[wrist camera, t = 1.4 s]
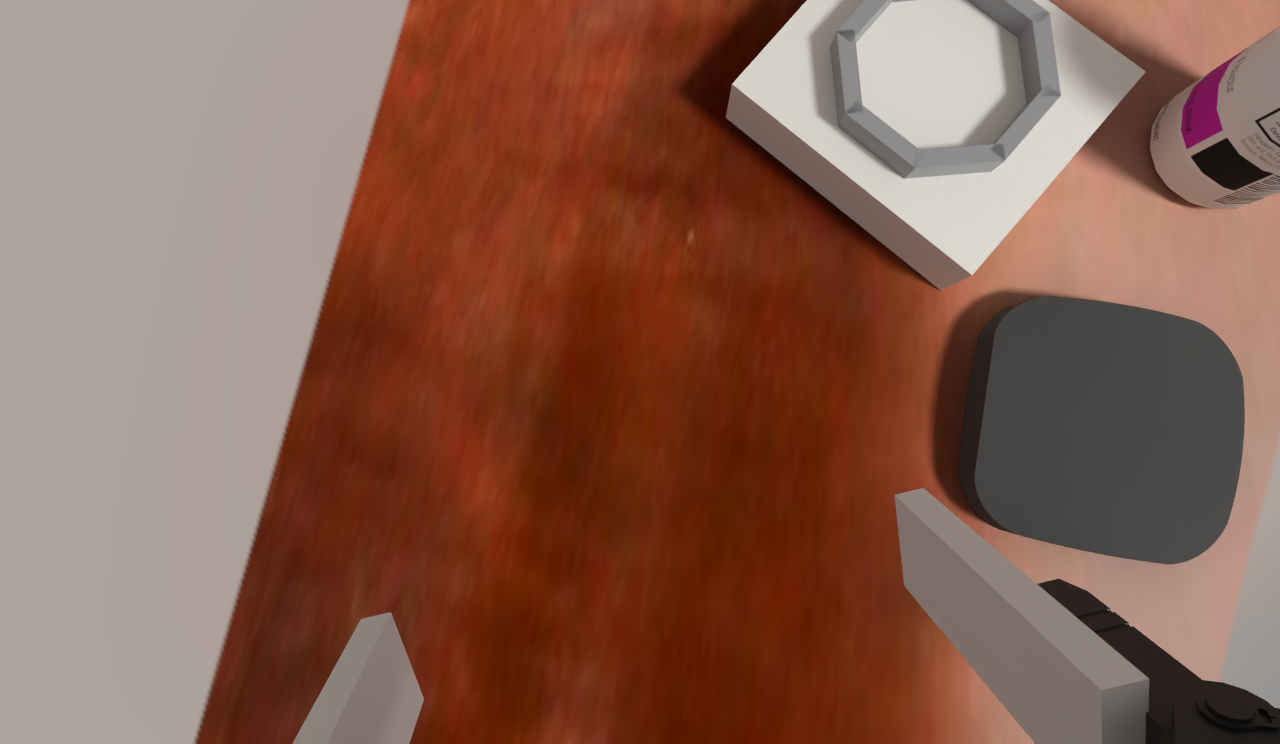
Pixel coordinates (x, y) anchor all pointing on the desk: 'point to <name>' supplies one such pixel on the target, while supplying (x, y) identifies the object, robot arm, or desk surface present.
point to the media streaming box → (1103, 429)
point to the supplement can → (1224, 132)
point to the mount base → (930, 115)
